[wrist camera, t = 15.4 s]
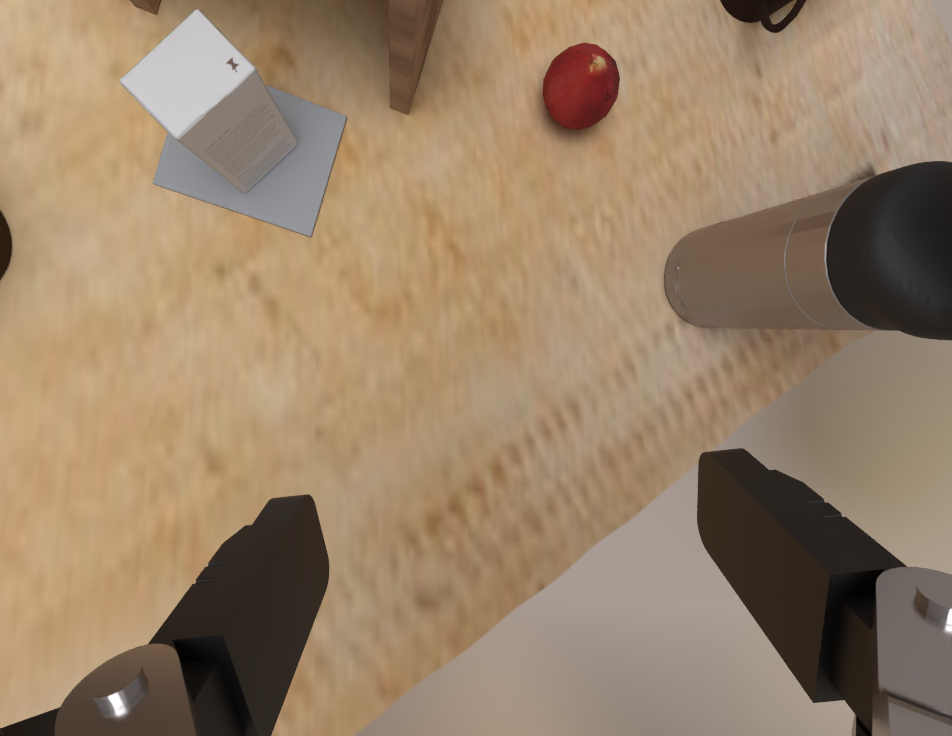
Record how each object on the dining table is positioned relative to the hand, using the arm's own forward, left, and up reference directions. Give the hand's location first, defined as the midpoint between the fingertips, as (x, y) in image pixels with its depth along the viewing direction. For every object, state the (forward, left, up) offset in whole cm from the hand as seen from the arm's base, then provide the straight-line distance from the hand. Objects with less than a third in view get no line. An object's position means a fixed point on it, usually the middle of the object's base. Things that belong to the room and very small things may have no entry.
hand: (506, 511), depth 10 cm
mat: (+9, -20, -33) cm, 39 cm away
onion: (-17, -19, -33) cm, 42 cm away
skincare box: (+9, -20, -33) cm, 39 cm away
